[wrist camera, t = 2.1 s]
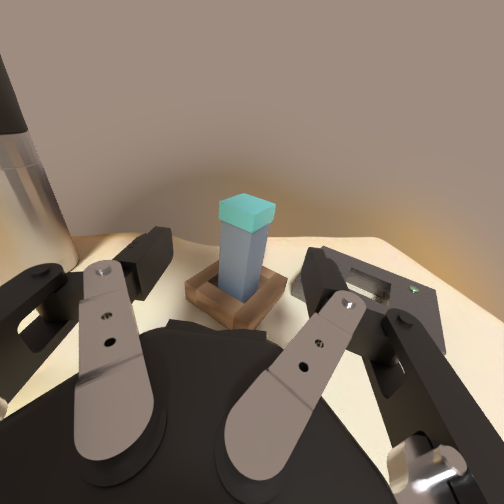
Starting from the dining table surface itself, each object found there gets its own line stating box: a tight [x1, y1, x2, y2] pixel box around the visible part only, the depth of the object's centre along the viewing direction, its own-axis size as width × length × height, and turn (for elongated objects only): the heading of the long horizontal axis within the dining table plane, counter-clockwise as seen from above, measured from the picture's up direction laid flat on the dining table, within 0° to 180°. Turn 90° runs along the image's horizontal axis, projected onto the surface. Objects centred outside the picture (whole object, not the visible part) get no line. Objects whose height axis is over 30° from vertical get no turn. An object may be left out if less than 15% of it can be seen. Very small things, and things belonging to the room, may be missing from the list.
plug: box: [218, 193, 276, 304], centre depth 26 cm, size 4×4×14 cm
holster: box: [185, 260, 288, 330], centre depth 29 cm, size 10×10×3 cm
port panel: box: [291, 246, 446, 355], centre depth 32 cm, size 18×13×3 cm
